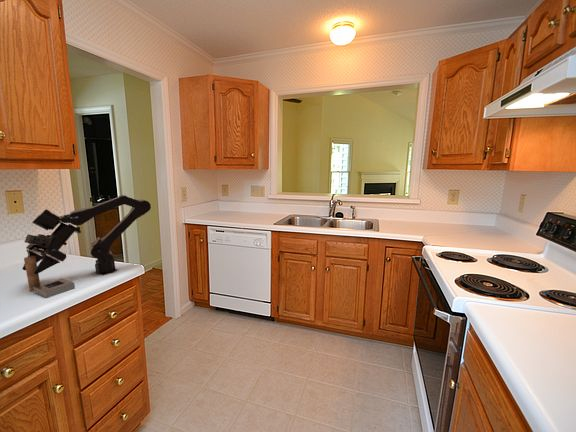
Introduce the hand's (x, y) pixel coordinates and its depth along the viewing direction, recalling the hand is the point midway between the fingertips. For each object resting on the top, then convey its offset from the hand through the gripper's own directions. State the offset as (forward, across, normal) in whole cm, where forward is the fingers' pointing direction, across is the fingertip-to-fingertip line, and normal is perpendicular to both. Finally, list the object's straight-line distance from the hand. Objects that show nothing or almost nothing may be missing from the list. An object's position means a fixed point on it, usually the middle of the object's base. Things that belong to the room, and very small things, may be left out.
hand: (29, 271), depth 103 cm
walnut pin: (+5, 0, +6) cm, 8 cm away
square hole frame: (+3, +8, +8) cm, 12 cm away
